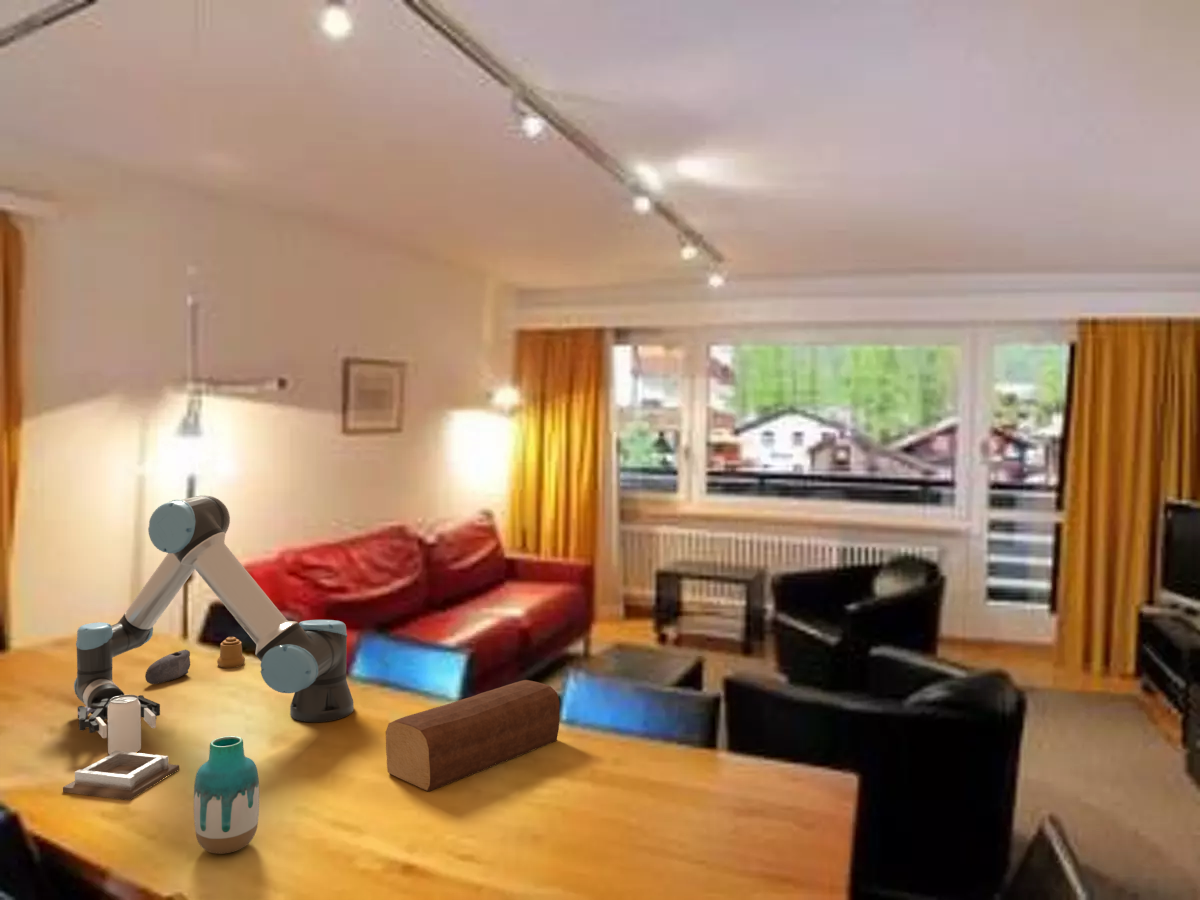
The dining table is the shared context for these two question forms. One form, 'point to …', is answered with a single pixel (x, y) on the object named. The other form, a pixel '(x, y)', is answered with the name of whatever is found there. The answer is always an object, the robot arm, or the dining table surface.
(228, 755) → the vase
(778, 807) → the dining table surface
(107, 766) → the grey hollow square frame
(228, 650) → the ornamental finial
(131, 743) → the can
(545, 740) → the bread
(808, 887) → the dining table surface
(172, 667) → the perforated stone tool
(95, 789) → the collar base
